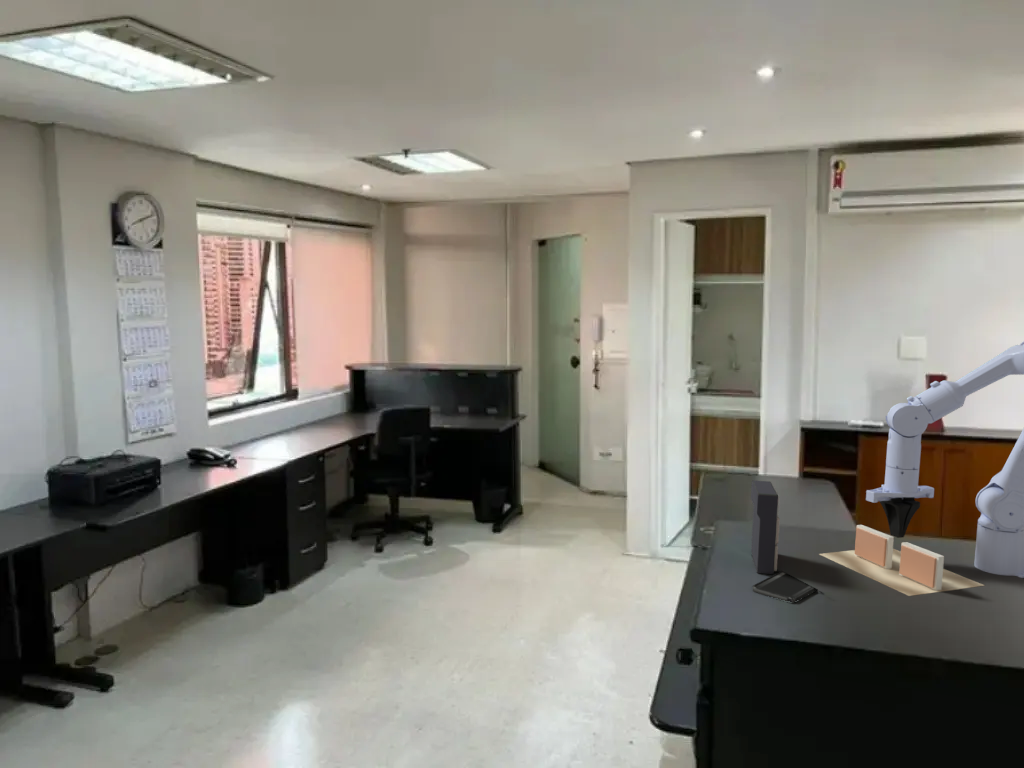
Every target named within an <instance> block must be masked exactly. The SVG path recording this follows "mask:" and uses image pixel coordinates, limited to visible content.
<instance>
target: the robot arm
mask: <svg viewBox="0 0 1024 768" xmlns="http://www.w3.org/2000/svg"><path fill="white" fill-rule="evenodd" d="M1011 375H1014V376H1015V375H1016V376H1017V375H1019V376H1022V375H1024V340H1023V341H1021V343H1020V344H1015V345H1013V346H1010V347H1009V348H1007V349H1005V350H1004V351H1002V352H1001V353H999V354H997V355H995V356H994V357H993V358H991V359H989V360H988V361H986V362H984V363H983V364H981V365H980V366H978V367H976V368H975V369H974V370H971V371H970V372H969V373H967V374H965V375H964V376H962V377H960V378H959V379H957V380H955V381H950V380H946V379H945V380H942V381H940V382H939V381H937V380H934V381H933V382H931V383H929V386H930V387H929V388H928V389H925V390H923V391H922V392H920V393H919V394H917V395H915V396H912V395H910V396H908V397H907V398H906V401H907V402H898V403H897V404H894V405H892V406H891V407H890V409H889V411H888V412H887V414H886V415H885V421H886V424H887V425H888V427H889V429H888V440H887V442H886V443H887V445H886V456H885V458H886V459H885V474H884V484H881V487H877V488H874V489H866V491H865V493H866V494H865V501H867V502H871V503H874V504H875V503H878V502H879V503H880V505H881V507H882V509H883V512H884V513H885V516H886V520H887V523H888V524H887V525H888V529H889V535H890V536H892V537H894V538H900V539H901V538H904V537H905V535H906V532H907V530H908V527H909V524H910V523H911V520H912V519H913V517H914V515H915V514H916V513H917V511H918V509H920V508H921V502H920V501H918V500H915V499H920V498H928V499H934V498H935V497H934V496H935V488H934V487H932V486H929V485H919V480H920V479H919V477H920V466H921V454H922V452H921V451H922V443H921V442H922V434H923V433H924V432H926V429H927V428H928V425H929V424H933V423H935V422H936V421H938V420H941V419H942V418H944V417H946V416H947V415H949V414H952V413H953V412H955V411H957V410H959V409H960V408H962V407H964V405H965V401H966V397H967V396H970V395H972V394H974V393H976V392H978V391H979V390H982V389H984V388H986V387H988V386H989V385H991V384H994V383H996V382H997V381H1000V380H1002V379H1004V378H1005V377H1008V376H1011ZM975 507H976V508H977V510H978V511H979V512H980V517H978V519H977V528H976V538H975V539H976V540H975V541H976V542H975V550H974V551H975V552H974V563H973V565H974V568H976V569H978V570H980V571H982V572H986V573H989V574H993V575H999V576H1016V577H1018V578H1022V579H1023V578H1024V427H1023V428H1022V430H1021V433H1020V435H1019V437H1017V440H1016V442H1015V444H1014V447H1012V450H1011V452H1010V454H1009V456H1008V458H1007V459H1006V462H1005V464H1004V465H1003V467H1002V468H1001V470H1000V471H999V472H997V473H996V474H995V475H993V476H992V478H991V479H990V481H989V483H988V484H987V485H985V486H984V487H983V488H981V489H980V490H979V491H978V492H977V494H976V497H975Z"/></svg>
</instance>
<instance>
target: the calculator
mask: <svg viewBox="0 0 1024 768" xmlns="http://www.w3.org/2000/svg"><path fill="white" fill-rule="evenodd" d="M750 489H751V490H750V491H751V493H750V500H751V502H752V504H753V512H752V513H753V514H752V530H751V549H750V550H751V551H750V552H751V559H752V562H753V565H754V568H755V570H756V571H755V572H756V573H757V574H762V575H763V574H766V575H775V572H777V569H778V558H779V557H778V556H779V555H778V553H779V552H778V551H779V547H778V544H779V536H780V535H779V534H780V518H779V515H780V502H781V500H780V495H779V493H778V491H777V489H776V488H775V486H774V484H773V483H772V481H767V480H752V481H751V487H750Z"/></svg>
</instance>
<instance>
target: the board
mask: <svg viewBox="0 0 1024 768" xmlns="http://www.w3.org/2000/svg"><path fill="white" fill-rule="evenodd" d="M818 555H819V556H822V557H824V558H826V559H828V560H829V561H830V560H831V561H832V562H835V563H836V564H839V565H841V566H843V567H846V568H847V569H850V570H852V571H853V572H856V573H858V574H860V575H863V576H865V577H867V578H869V579H871V580H874V581H876V582H878V583H880V584H882V585H884V586H886V587H889V588H890V589H892V590H895V591H897V592H899V593H902V594H903V595H906V596H908V597H914V596H920V595H927V594H933V593H934V594H935V593H941V592H948V591H949V592H950V591H955V590H963V589H970V588H971V589H972V588H977V587H985V584H983V583H981V582H980V583H979V582H978V581H975V580H973V579H970V578H968V577H965V576H962V575H960V574H957V573H954V572H952V571H951V570H947V569H945V568H943V576H942V588H941V590H938V591H935V590H933V589H931V588H929V587H926V586H924V585H922V584H919V583H917V582H915V581H913V580H910V579H908V578H906V577H903V576H901V575H899V570H900V557H901V550H898V549H895V548H893V555H892V568H891V569H885V568H883V567H881V566H878V565H876V564H874V563H871V562H869V561H867V560H865V559H862V558H860V557H858V556H855V549H852V550H843V551H833V552H825V553H824V552H823V553H818Z"/></svg>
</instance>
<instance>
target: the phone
mask: <svg viewBox="0 0 1024 768" xmlns="http://www.w3.org/2000/svg"><path fill="white" fill-rule="evenodd" d="M816 590H817V591H819V590H818V588H816V587H814V586H812V585H810V584H808V583H806V582H804V581H803V580H801V579H798V578H797V577H795V576H793V575H791V574H789V573H788V572H786V571H783V570H781V571H779V572H777V573H774V574H772V575H771V576H769V577H767V578H765V579H763V580H761V581H760V582H757V583H754V584H753V585H752V593H753V592H754V593H755V594H759V595H761V596H764V597H768V596H769V597H768V598H771V597H773V598H772V599H774V598H778V599H781V600H785V601H790V602H795V601H797V600H800V599H801V598H803V597H805V596H806V597H808V596H809V595H808V594H810V593H812V592H813V593H815V592H817V591H816ZM814 591H815V592H814ZM813 593H812V594H813ZM807 595H808V596H807ZM810 595H811V594H810ZM806 597H805V598H806ZM778 599H777V600H778ZM803 599H804V598H803ZM781 600H780V601H781ZM801 600H802V599H801ZM801 600H800V601H801Z"/></svg>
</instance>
